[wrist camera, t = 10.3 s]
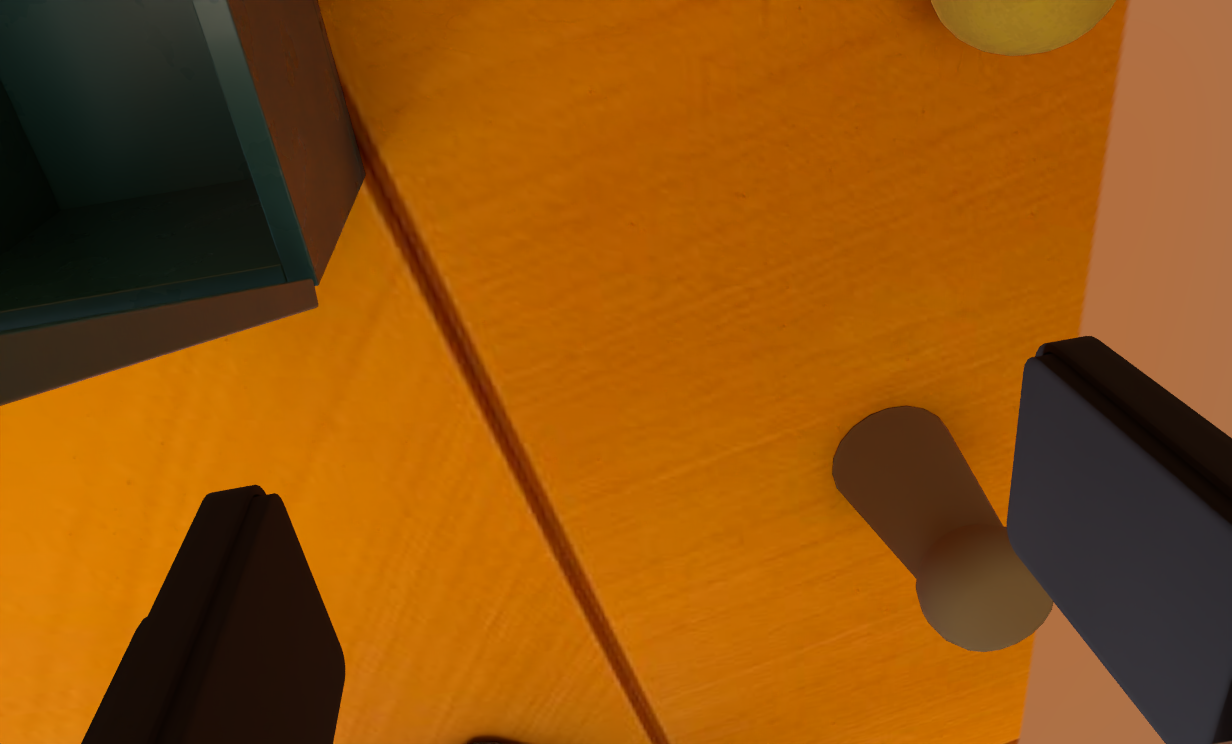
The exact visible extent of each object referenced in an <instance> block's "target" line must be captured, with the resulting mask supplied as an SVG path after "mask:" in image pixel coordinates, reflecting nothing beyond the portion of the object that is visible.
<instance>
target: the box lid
mask: <svg viewBox="0 0 1232 744" xmlns="http://www.w3.org/2000/svg"><path fill="white" fill-rule="evenodd" d="M317 307H318V300H317V296H316V291H315V287H314V283H313V280H312V279H310V278H309V279H303V280H297V281H291V282H285V283H279V284H274V285H268V286H262V287H256V288H250V289H244V290H238V291H232V292H227V293H221V294H215V295H209V296H203V297H197V298H191V299H185V300H180V301H174V302H168V303H162V304H156V305H150V306H144V307H138V308H133V309H127V310H121V311H115V312H109V313H103V314H97V315H91V316H86V317H80V318H74V319H68V320H62V321H56V322H50V323H45V324H39V325H33V326H27V327H21V328H15V329H9V330H3V331H0V406H2V405H5V404H8V403H11V402H14V401H18V400H21V399H24V398H27V397H31V396H34V395H37V394H40V393H43V392H47V391H50V390H53V389H56V388H59V387H63V386H66V385H69V384H72V383H76V382H79V381H82V380H85V379H88V378H92V377H95V376H98V375H101V374H105V373H108V372H111V371H114V370H117V369H121V368H124V367H127V366H130V365H133V364H137V363H140V362H143V361H146V360H150V359H153V358H156V357H159V356H162V355H166V354H169V353H172V352H175V351H178V350H182V349H185V348H188V347H191V346H195V345H198V344H201V343H204V342H207V341H211V340H214V339H217V338H220V337H223V336H227V335H230V334H233V333H236V332H240V331H243V330H246V329H249V328H252V327H256V326H259V325H262V324H265V323H269V322H272V321H275V320H278V319H281V318H285V317H288V316H291V315H294V314H297V313H301V312H304V311H307V310H310V309H314V308H317Z"/></svg>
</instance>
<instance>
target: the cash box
mask: <svg viewBox="0 0 1232 744" xmlns="http://www.w3.org/2000/svg"><path fill="white" fill-rule="evenodd" d="M473 744H502V743H498V742H477V743H473Z"/></svg>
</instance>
